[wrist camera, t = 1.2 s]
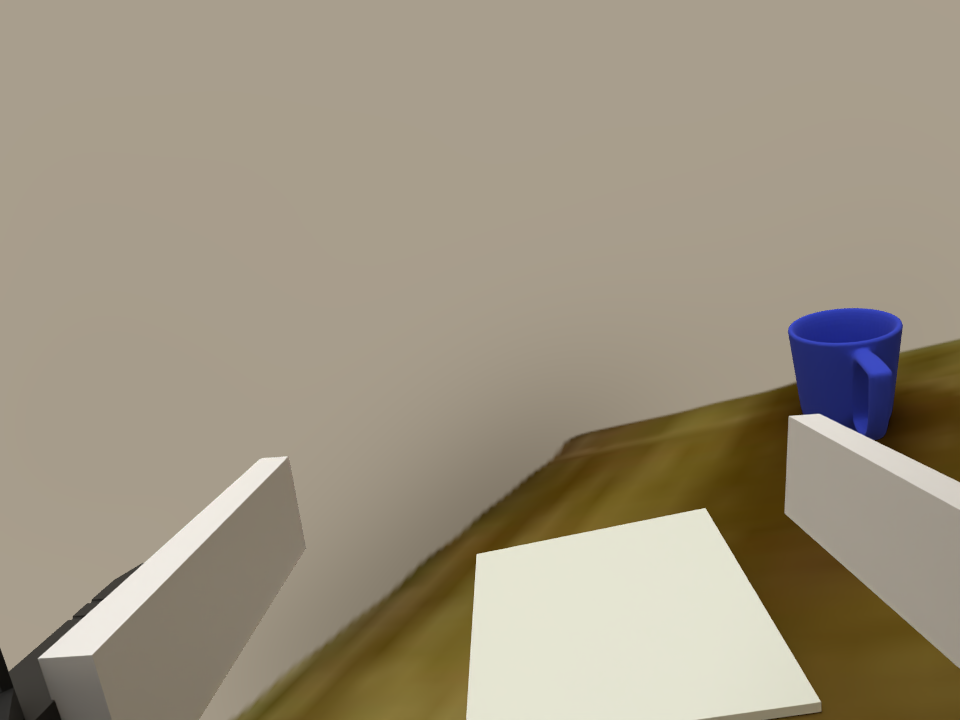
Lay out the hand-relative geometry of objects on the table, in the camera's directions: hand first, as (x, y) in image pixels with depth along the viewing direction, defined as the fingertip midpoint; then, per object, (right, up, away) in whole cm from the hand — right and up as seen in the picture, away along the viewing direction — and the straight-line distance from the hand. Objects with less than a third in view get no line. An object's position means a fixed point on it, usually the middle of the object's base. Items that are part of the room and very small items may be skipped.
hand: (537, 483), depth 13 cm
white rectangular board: (+8, -15, +22) cm, 28 cm away
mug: (+33, -4, +33) cm, 47 cm away
